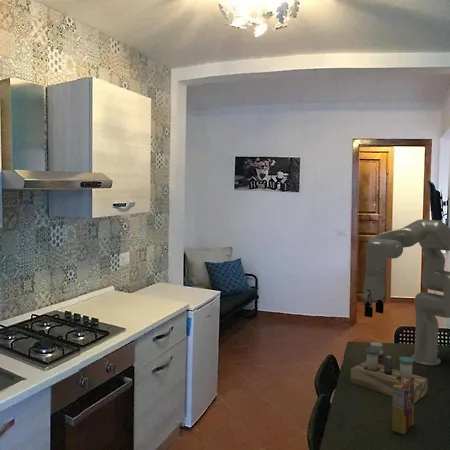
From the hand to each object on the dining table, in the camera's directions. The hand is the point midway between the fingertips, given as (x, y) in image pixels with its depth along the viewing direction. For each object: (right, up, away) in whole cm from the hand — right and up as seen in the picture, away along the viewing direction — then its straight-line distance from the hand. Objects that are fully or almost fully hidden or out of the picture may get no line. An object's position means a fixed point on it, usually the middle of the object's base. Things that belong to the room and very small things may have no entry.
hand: (373, 314), depth 193 cm
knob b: (+10, -23, -8) cm, 26 cm away
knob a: (0, -22, +2) cm, 23 cm away
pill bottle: (+6, -27, +17) cm, 33 cm away
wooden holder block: (+5, -29, -3) cm, 29 cm away
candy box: (-1, -31, -34) cm, 46 cm away
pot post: (+5, -23, -3) cm, 23 cm away
